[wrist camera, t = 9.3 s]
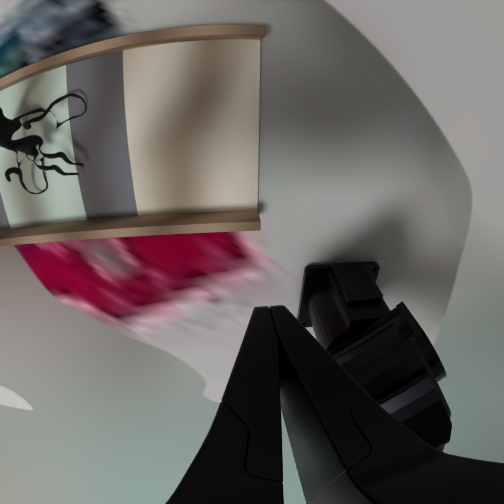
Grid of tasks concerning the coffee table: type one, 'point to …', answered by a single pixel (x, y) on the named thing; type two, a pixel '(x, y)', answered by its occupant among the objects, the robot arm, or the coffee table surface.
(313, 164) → the coffee table surface
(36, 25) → the coffee table surface
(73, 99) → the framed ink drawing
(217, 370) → the coffee table surface
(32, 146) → the creature
